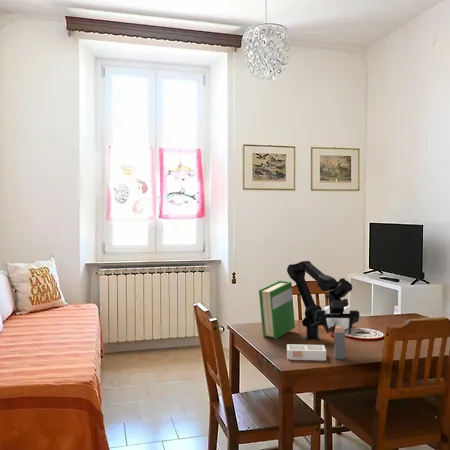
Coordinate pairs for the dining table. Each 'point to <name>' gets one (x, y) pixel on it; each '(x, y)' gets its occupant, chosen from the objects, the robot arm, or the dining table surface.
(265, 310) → the hardback book
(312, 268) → the robot arm
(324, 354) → the socket strip
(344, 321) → the cable organizer
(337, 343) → the gray rectangular block
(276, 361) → the dining table surface
